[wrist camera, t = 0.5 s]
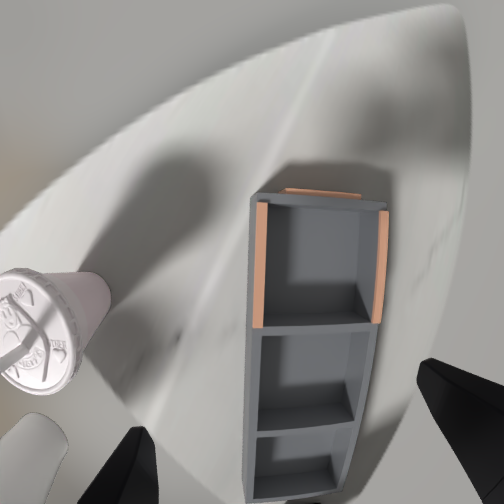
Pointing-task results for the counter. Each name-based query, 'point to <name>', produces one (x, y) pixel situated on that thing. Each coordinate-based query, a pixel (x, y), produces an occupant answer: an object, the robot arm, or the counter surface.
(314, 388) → the bottle caddy
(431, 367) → the robot arm
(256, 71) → the counter surface
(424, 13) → the counter surface
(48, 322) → the smoothie
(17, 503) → the drinking glass
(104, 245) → the counter surface
